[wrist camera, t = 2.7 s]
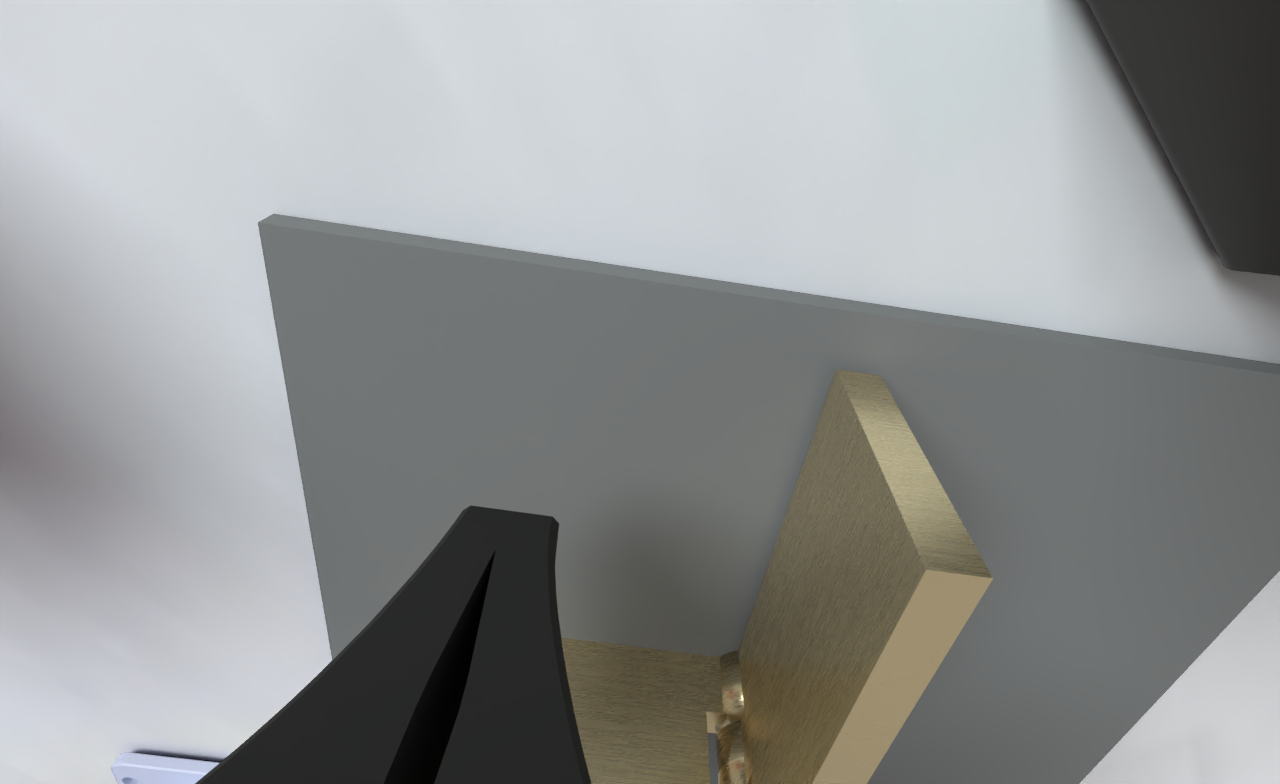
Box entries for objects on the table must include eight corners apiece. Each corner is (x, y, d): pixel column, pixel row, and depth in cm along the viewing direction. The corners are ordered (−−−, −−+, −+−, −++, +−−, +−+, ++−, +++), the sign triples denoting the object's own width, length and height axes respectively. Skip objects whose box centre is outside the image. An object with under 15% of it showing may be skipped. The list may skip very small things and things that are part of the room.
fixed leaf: (781, 654, 16) (829, 933, 11) (766, 693, 17) (804, 968, 12) (384, 604, 16) (259, 871, 11) (388, 646, 16) (274, 912, 12)
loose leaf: (767, 703, 17) (799, 928, 13) (706, 696, 17) (718, 920, 13) (902, 378, 12) (1026, 583, 8) (814, 365, 11) (891, 564, 7)
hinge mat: (1026, 814, 20) (1033, 831, 20) (355, 735, 20) (348, 752, 19) (1413, 385, 12) (1441, 398, 12) (273, 213, 11) (258, 222, 11)
